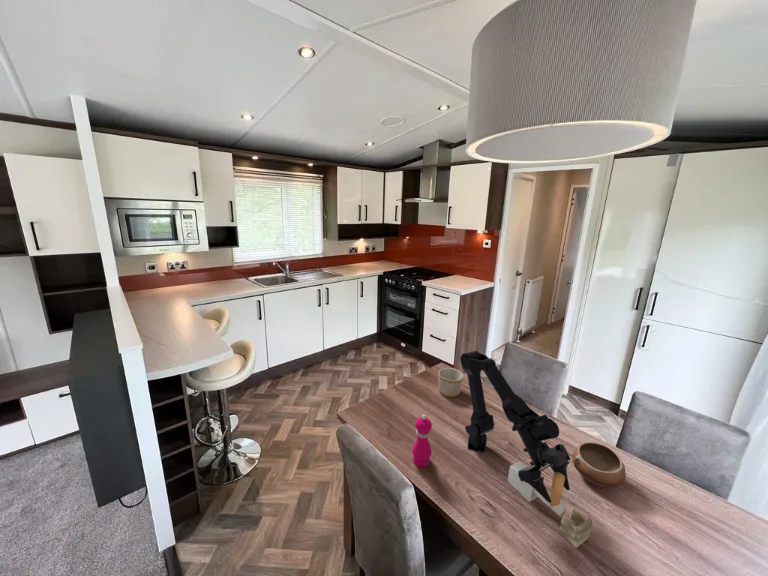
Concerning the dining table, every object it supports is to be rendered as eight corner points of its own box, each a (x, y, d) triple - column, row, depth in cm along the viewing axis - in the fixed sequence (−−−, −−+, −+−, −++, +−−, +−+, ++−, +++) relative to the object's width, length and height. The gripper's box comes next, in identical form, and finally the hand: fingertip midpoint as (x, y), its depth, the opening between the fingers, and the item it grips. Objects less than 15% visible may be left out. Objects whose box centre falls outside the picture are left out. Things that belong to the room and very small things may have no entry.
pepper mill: (430, 469, 113) (433, 423, 108) (410, 466, 114) (413, 420, 109) (431, 454, 120) (434, 410, 115) (412, 451, 121) (415, 407, 116)
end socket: (559, 531, 92) (562, 514, 90) (571, 522, 95) (575, 505, 93) (576, 548, 88) (580, 530, 86) (588, 537, 90) (592, 520, 89)
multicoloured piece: (515, 478, 107) (519, 448, 104) (520, 475, 108) (525, 445, 105) (558, 518, 93) (566, 485, 90) (564, 514, 95) (572, 481, 92)
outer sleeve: (507, 481, 109) (509, 466, 107) (517, 475, 111) (519, 461, 109) (529, 502, 101) (532, 486, 99) (539, 495, 103) (542, 480, 102)
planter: (436, 384, 168) (437, 367, 166) (459, 386, 167) (461, 368, 165) (438, 398, 156) (439, 379, 153) (463, 400, 155) (465, 381, 152)
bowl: (563, 472, 113) (567, 449, 111) (580, 453, 122) (585, 431, 120) (613, 504, 101) (619, 479, 99) (628, 480, 110) (634, 457, 108)
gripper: (531, 448, 90) (561, 510, 84) (569, 429, 99) (599, 483, 92) (506, 452, 99) (532, 508, 92) (543, 434, 107) (569, 484, 101)
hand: (559, 496), depth 94 cm, fingers open, 9 cm apart
